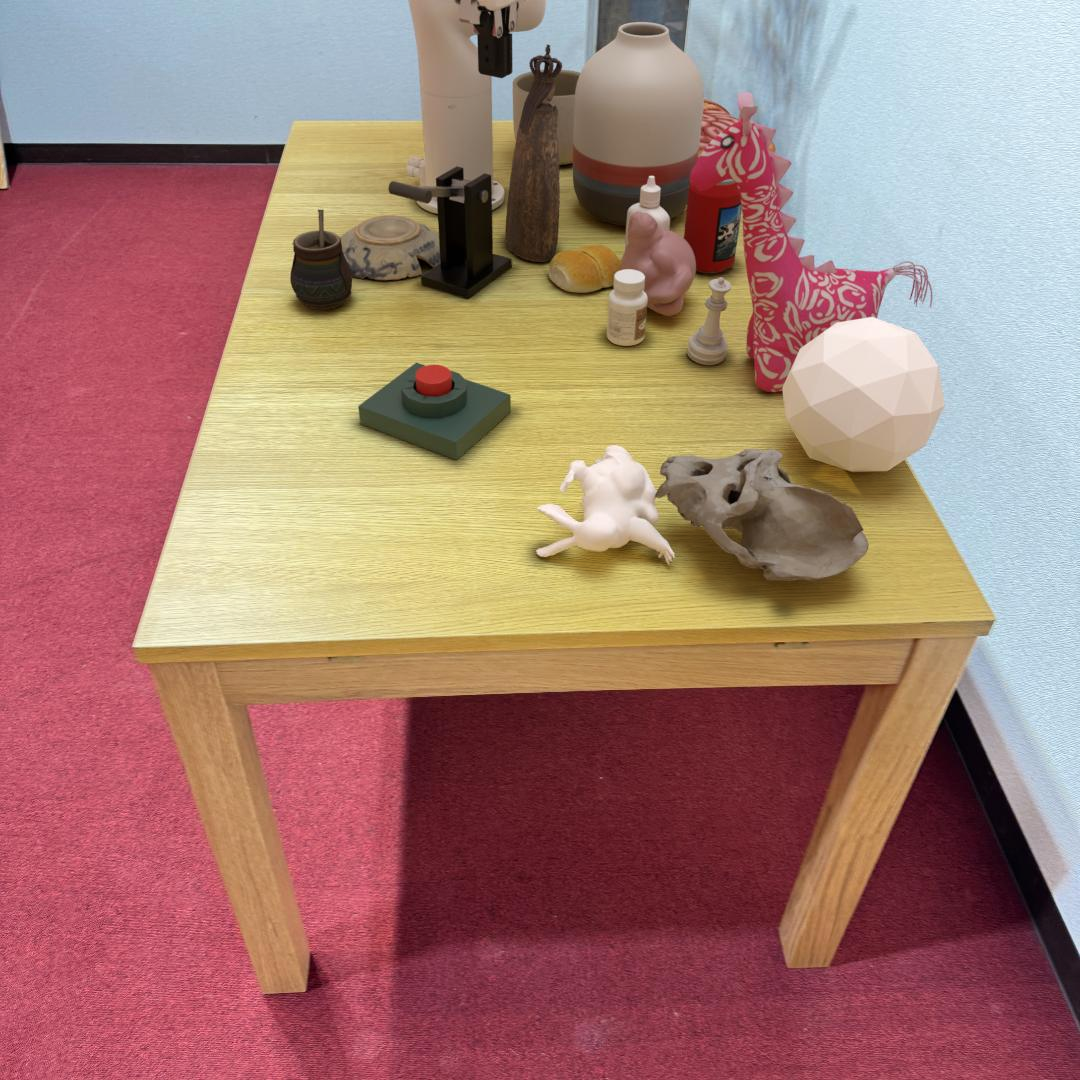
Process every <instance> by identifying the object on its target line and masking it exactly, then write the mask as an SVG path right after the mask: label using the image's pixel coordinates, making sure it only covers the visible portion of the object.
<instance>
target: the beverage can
mask: <svg viewBox="0 0 1080 1080" xmlns="http://www.w3.org/2000/svg"><path fill="white" fill-rule="evenodd" d="M741 218H742V205H741V198H740V194H739V190H738V187H737V184H736V182H735V181H734V180H732V179H727V180H724V181H722V182H720V183H718V184H716V185H714V186H712V187H711V188H708V189H705V190H702V191H700V190H698V189H697V187H695V186H693V185H691V183H690V184H689V192H688V201H687V205H686V211H685V220H684V230H683V231H684V232H683V238H684V239H685V240H686V241H687V242H688V244H689V245H690V247H691V248H692V250H693V253H694V256H695V261H696V272H698V273H703V274H718V273H722V272H724V271H725V270H727V269H729V268H731V267H732V266H733V265H734V264H735V261H736V254H737V253H736V252H737V247H738V239H739V234H740V233H739V232H740V227H741V226H740V225H741Z"/></svg>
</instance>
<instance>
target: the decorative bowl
mask: <svg viewBox="0 0 1080 1080" xmlns="http://www.w3.org/2000/svg"><path fill="white" fill-rule="evenodd" d="M340 238H341V243H342V249H343V250H342V251H343V254H344V256H345V258H346V261H347V262H348V264H349V267H350V270H351V273H352V277H353V278H358V279H361V280H363V279H365V278H368V279H370V280H376V281H400V280H401V279H406V278H407V277H408V278H415V277H418V276H422V275H423V272H422V268H421V265H420V262H419V260H418V259H420V260H422V261H423V262H426V263H427V264H429V265H430V266H431V267H432V268H434V267H435V266H437V265H438V264H440V247H439V234H438V233H437V232H436V231H434V230H433V229H432V228H430V227H429V226H427V225H425V224H423V223H421V222H418V221H416V220H415V219H412V218H410V217H407V216H404V215H403V216H402V215H393V214H392V215H387V214H386V215H378V216H374V217H370V218H367V219H365V220H362V221H361V222H360V223H358V225H355V226H353V227H352V228H350V229H348V230H346V232H345V233H344V234H342V236H341V237H340Z"/></svg>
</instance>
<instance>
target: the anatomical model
mask: <svg viewBox="0 0 1080 1080" xmlns="http://www.w3.org/2000/svg"><path fill="white" fill-rule="evenodd" d="M737 122H739V118H737V117H735V116H732V115H731V114H730V112H729V111H728V109H726V108H725V107H724V106H722V105H720V104H719V103H717V102H715V101H712V100H710V99H707V98H704V105H703V116H702V126H701V135H700V144H699V154H698V158H699V157H700V155H701V154H702V152H703V150H704V149H705V148H706V146H707V145H708V144H709V143H710V142H711V141H712V140H713V139H714V138H715V137H716V136H718V135H719V134H720V133H721V132H722V131H724V130H725V129H726V128H728V127H729V126H731V125H732V124H734V123H737ZM768 150H770V151H772V152H773V153H775V154H776V145H775V143H774V142H773V140H772V141H771V143H770V146H769V148H768Z"/></svg>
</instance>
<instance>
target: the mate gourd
mask: <svg viewBox="0 0 1080 1080" xmlns="http://www.w3.org/2000/svg"><path fill="white" fill-rule="evenodd" d="M317 213H318V230H309V231H306V232H303V233H300V234H298V235H297V236H295V238H294V239H293V242H291V243H292V245H293V248H292V249H293V253H294V254H293V259H292V265H291V268H290V269H291V270H290V279H289V280H290V281H289V282H290V285H291V289H292V291H293V293H294V294H295V297H296V298H297V300H298V301H300V302H301V304H302V305H304V306H306V307H308V308H310V309H312V310H315V311H329V310H334V309H336V308H338V307H340V306H341V305H343V303H344V302H345V301H346V300H348V298H349V297H350V296H351V294H352V290H353V289H352V288H353V276H352V273H351V270H350V267H349V264H348V262H347V261H346V258H345V256H344V254H343V251H342V250H343V249H342V243H341V237H340V235H338V234H337V233H336V232H333V231H329V230H325V227H324V226H325V224H324V220H325V218H324V217H325V215H324V214H325V212H324V209H317Z"/></svg>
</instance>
